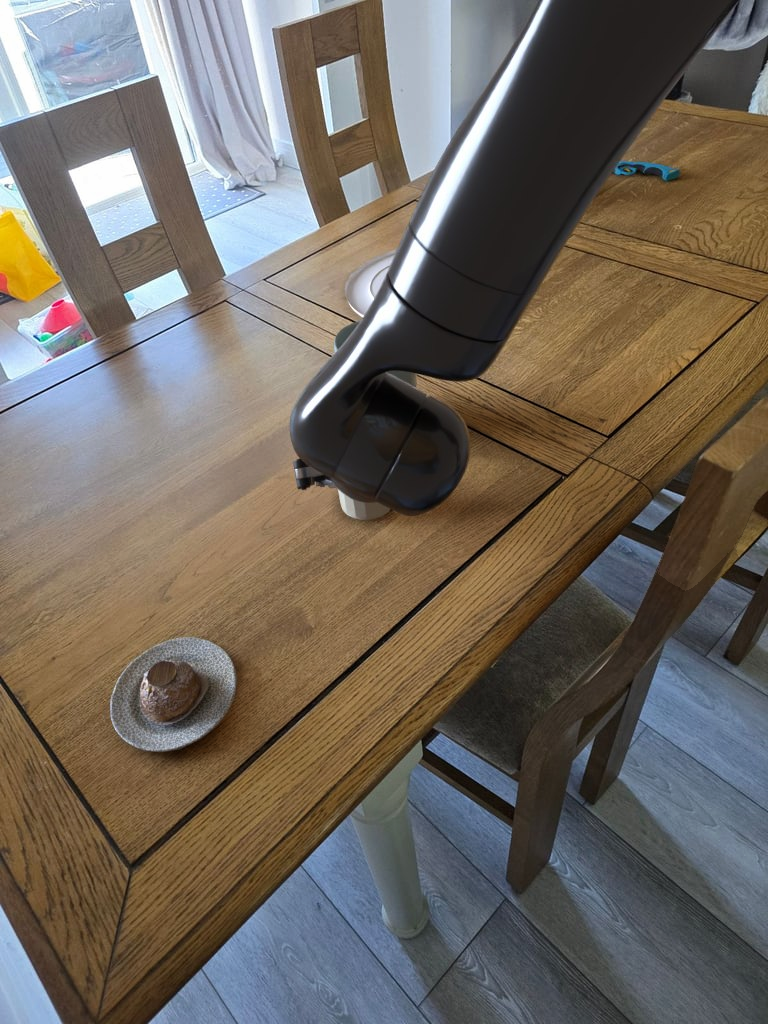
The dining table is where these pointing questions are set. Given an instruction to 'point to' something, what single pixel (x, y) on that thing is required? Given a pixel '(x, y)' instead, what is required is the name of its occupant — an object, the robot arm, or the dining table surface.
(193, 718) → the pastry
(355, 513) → the white faceted vase
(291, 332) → the dining table surface
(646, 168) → the knife
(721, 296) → the dining table surface
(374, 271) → the plate
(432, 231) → the robot arm
